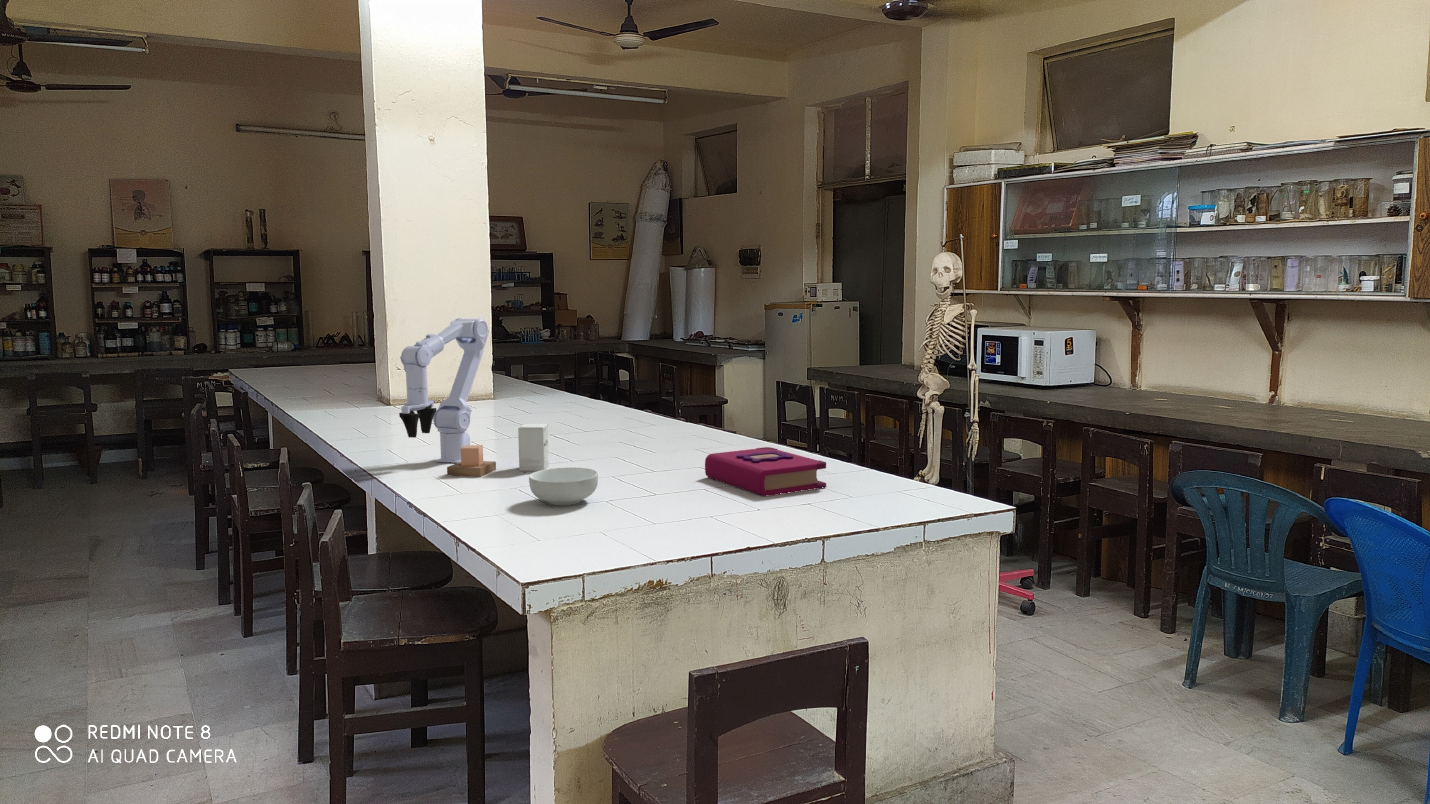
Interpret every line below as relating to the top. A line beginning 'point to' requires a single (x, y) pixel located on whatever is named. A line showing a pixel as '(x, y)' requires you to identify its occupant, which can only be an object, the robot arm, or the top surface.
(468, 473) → the walnut slab
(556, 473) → the cereal bowl
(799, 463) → the book
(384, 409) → the top surface
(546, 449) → the supplement box
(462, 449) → the terracotta cube
